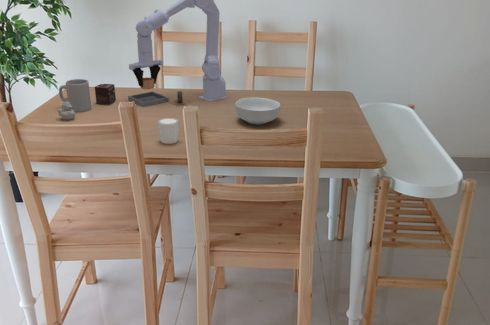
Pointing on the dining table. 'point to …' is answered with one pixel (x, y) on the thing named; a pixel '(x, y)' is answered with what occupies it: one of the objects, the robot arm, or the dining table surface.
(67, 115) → the grey stacked lumpy shape
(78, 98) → the mug
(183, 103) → the stake
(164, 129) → the white ribbed cylinder
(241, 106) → the cereal bowl
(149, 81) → the ring
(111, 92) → the box
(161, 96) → the tray
